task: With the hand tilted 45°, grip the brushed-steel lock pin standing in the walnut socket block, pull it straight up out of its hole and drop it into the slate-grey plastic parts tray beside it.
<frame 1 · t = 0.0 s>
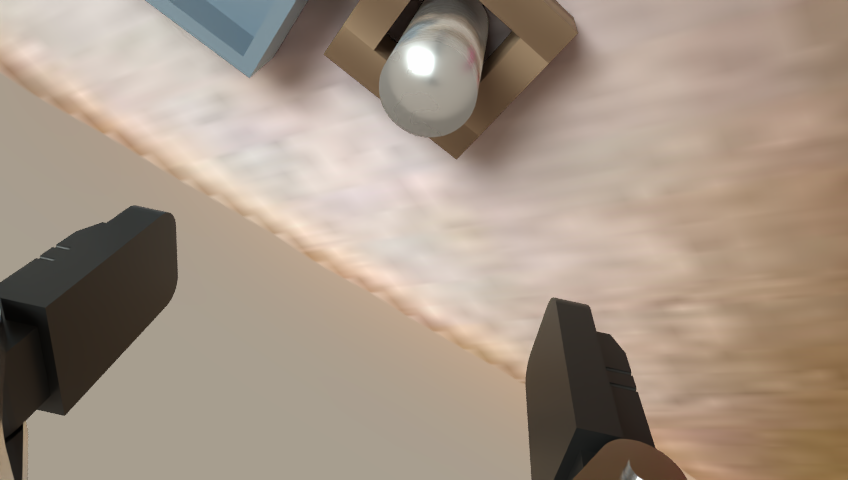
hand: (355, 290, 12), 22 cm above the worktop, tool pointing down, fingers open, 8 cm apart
socket block: (451, 27, 30), on the worktop
lock pin: (441, 55, 26), in the socket block
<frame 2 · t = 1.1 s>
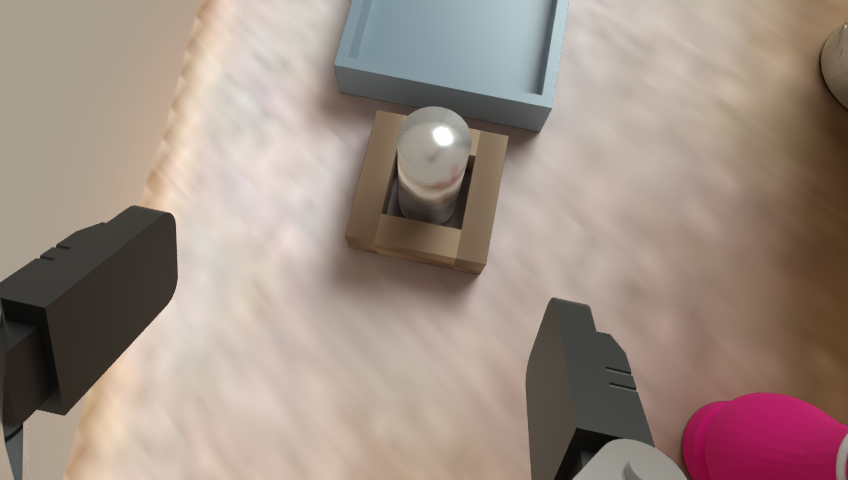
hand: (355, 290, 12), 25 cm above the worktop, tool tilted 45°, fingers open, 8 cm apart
socket block: (427, 199, 39), on the worktop
lock pin: (430, 173, 34), in the socket block
parts tray: (458, 25, 43), on the worktop
pepper mill: (728, 452, 35), on the worktop
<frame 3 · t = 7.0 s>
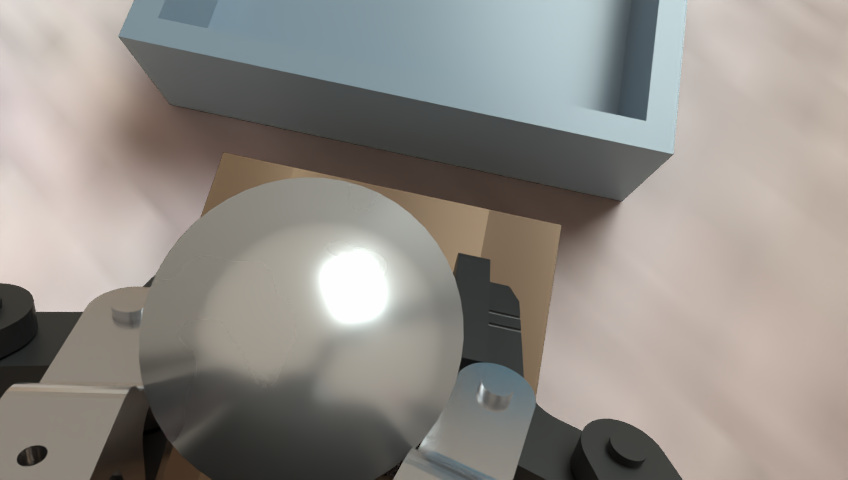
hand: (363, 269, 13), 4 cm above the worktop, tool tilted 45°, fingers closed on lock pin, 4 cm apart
socket block: (357, 369, 16), on the worktop
lock pin: (340, 355, 12), in the socket block, touching gripper
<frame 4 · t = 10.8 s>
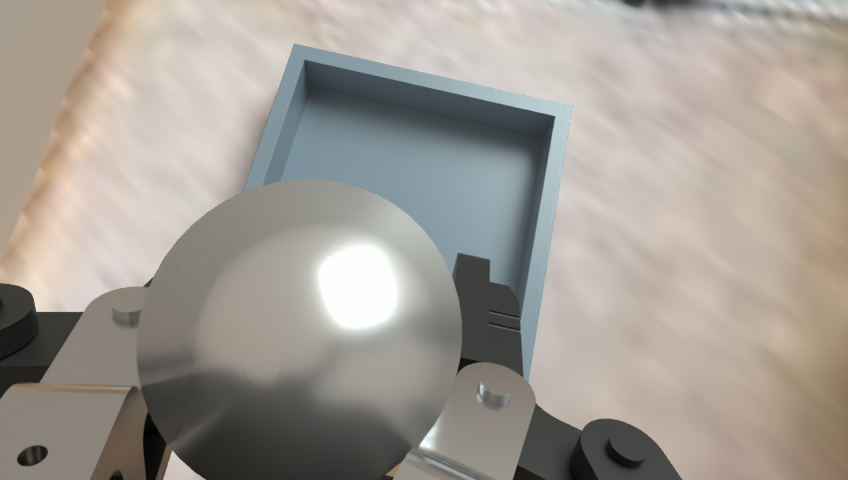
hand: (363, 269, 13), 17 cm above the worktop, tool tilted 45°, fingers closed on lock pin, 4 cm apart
lock pin: (340, 357, 11), point 17 cm above the worktop, touching gripper
parts tray: (398, 229, 30), on the worktop
when the fingers open (6 cm above the worktop, at t = 14.9 s): lock pin stays where it is, resting on parts tray.
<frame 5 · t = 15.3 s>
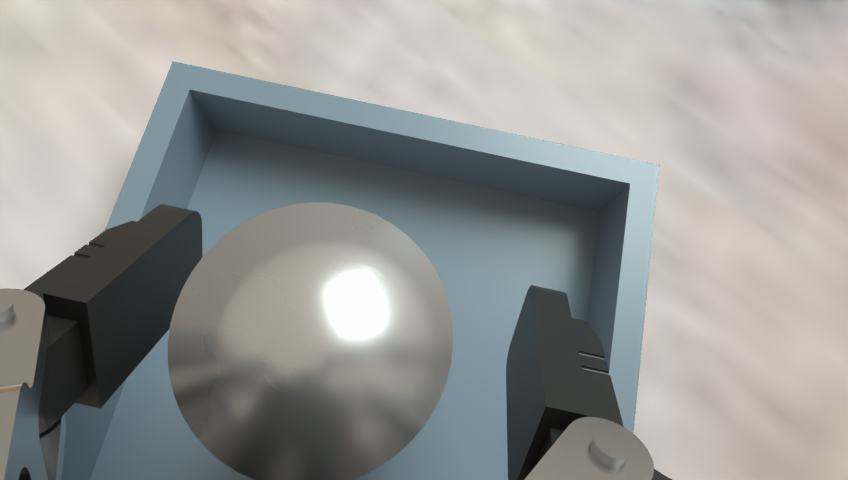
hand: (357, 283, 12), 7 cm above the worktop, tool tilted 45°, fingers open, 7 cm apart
lock pin: (343, 361, 12), in the parts tray, point 6 cm above the worktop
parts tray: (360, 372, 18), on the worktop
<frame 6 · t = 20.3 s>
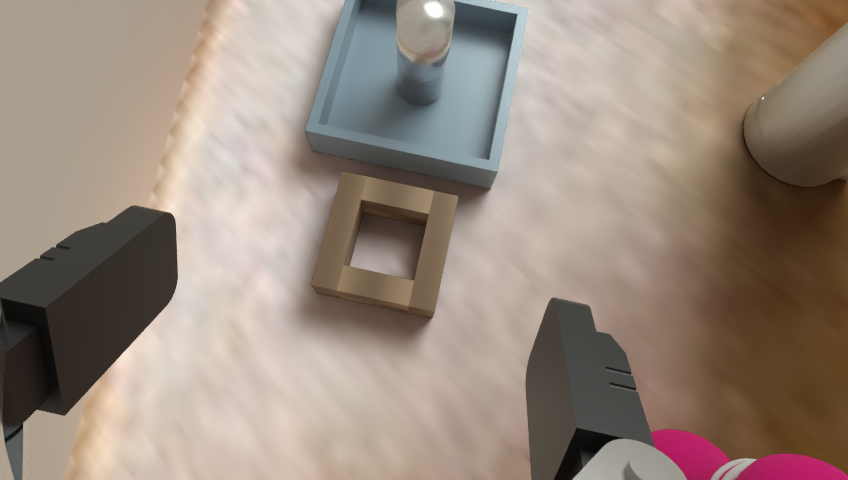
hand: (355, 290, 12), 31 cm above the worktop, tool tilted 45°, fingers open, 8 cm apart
socket block: (387, 250, 44), on the worktop
lock pin: (423, 50, 42), in the parts tray, point 6 cm above the worktop
parts tray: (420, 90, 48), on the worktop
pepper mill: (647, 479, 40), on the worktop
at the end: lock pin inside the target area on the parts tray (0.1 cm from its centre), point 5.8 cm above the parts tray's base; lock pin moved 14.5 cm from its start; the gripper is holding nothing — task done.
